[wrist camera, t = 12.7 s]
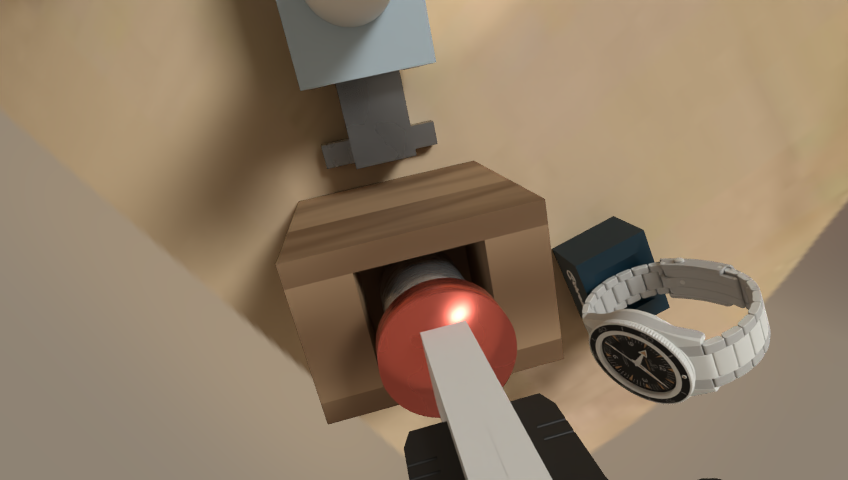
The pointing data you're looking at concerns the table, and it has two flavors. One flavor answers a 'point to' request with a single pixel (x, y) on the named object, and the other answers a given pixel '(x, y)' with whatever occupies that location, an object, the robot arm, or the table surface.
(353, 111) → the rail
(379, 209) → the wooden button housing
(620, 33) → the table surface
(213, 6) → the table surface
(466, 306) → the button plunger
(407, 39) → the carriage
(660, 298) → the watch
